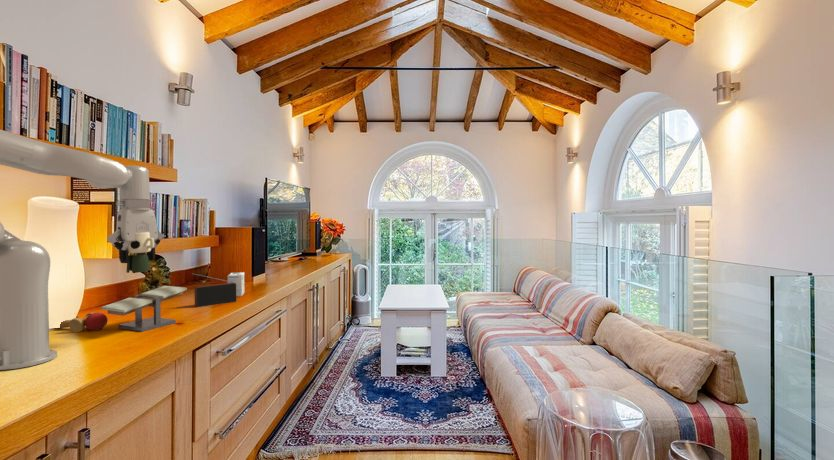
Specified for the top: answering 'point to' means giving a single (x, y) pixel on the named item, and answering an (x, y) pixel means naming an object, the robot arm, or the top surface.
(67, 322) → the kendama
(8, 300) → the robot arm
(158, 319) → the stand
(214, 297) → the radio
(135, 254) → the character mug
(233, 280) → the light bulb box
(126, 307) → the beam
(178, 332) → the top surface
